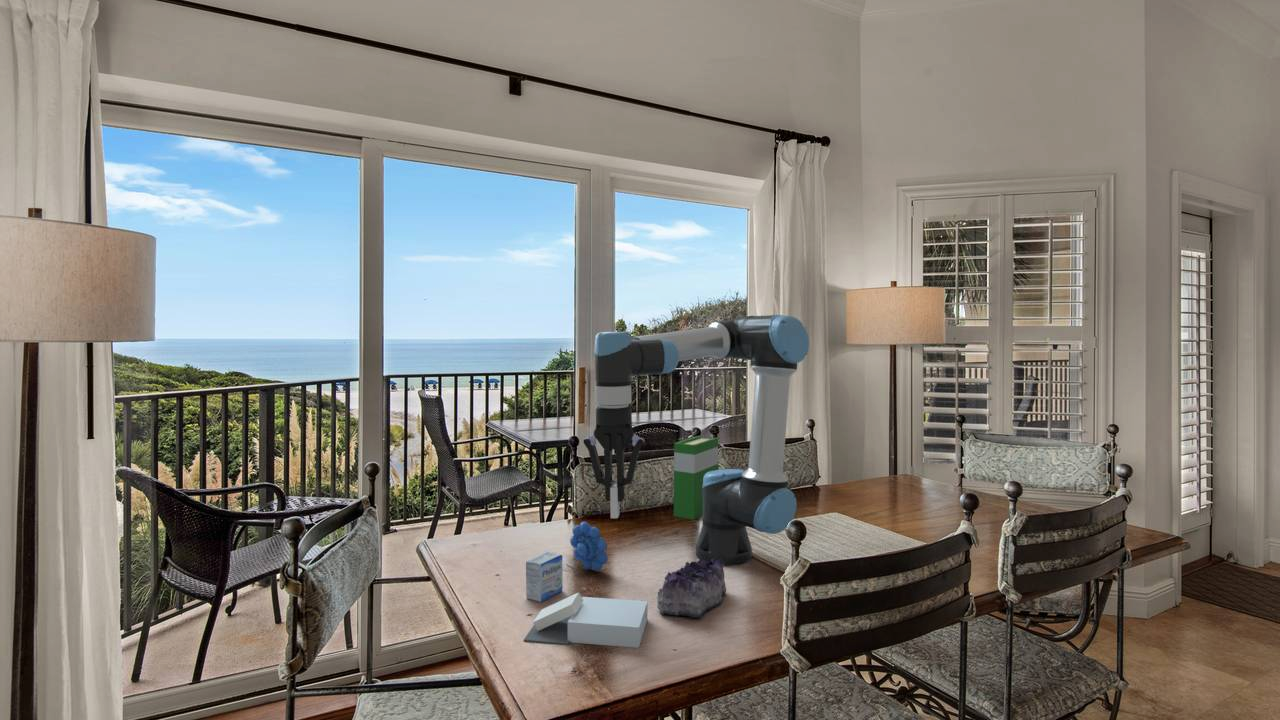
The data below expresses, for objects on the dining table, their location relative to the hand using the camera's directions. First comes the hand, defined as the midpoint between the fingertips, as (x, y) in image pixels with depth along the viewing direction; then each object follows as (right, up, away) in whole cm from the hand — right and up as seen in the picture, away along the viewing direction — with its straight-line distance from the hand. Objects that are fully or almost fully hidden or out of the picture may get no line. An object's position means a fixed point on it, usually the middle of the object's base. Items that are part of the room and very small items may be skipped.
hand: (615, 516), depth 137 cm
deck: (-1, -22, -6) cm, 23 cm away
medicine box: (-17, -21, +11) cm, 29 cm away
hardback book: (+24, -18, +80) cm, 85 cm away
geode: (+17, -22, +7) cm, 29 cm away
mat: (-12, -21, -5) cm, 25 cm away
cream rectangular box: (-11, -19, -5) cm, 23 cm away
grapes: (-8, -20, +26) cm, 34 cm away
